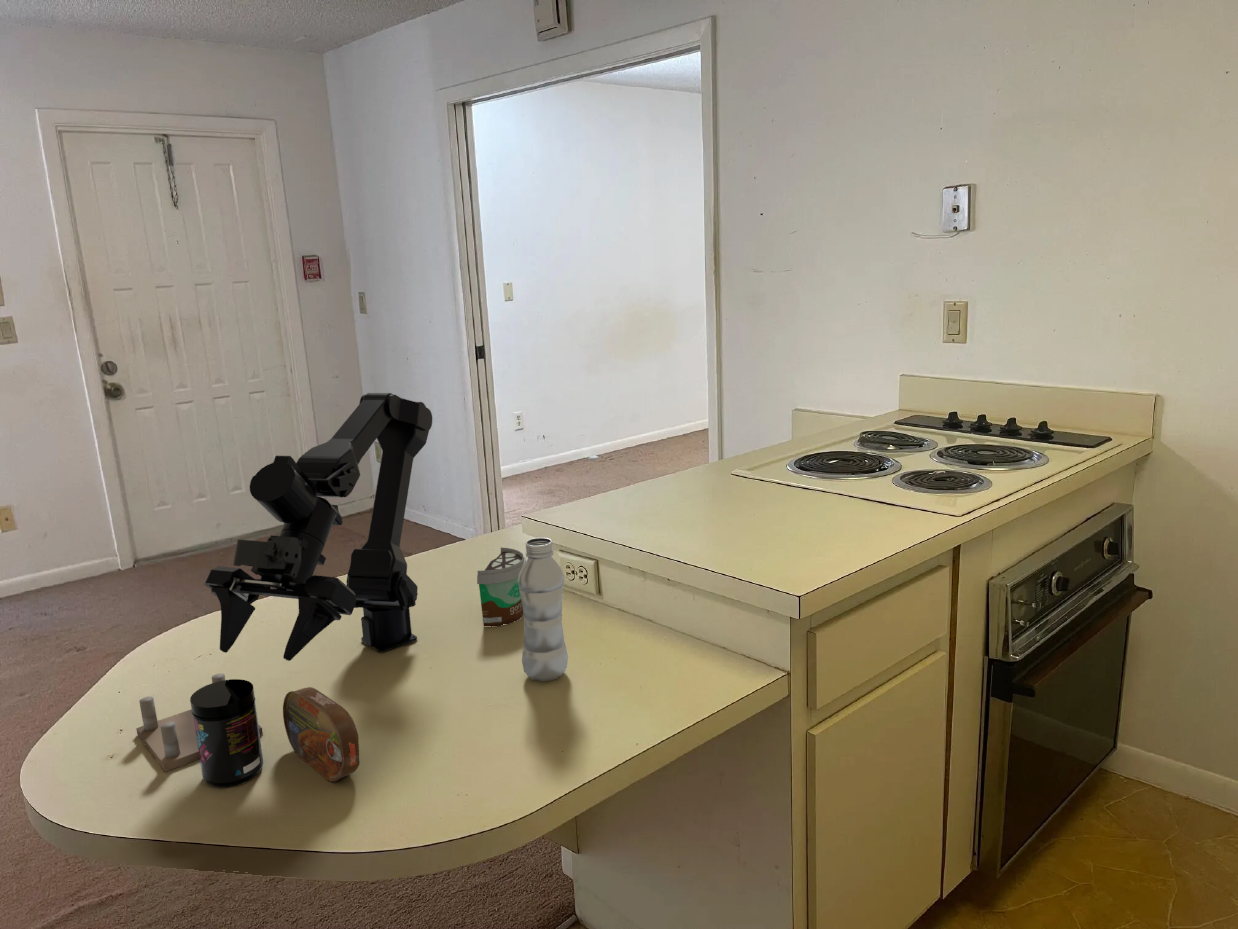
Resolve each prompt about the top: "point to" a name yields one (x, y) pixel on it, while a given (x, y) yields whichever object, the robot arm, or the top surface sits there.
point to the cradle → (171, 734)
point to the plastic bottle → (542, 612)
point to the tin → (321, 733)
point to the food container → (501, 588)
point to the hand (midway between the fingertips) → (254, 655)
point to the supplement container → (227, 732)
